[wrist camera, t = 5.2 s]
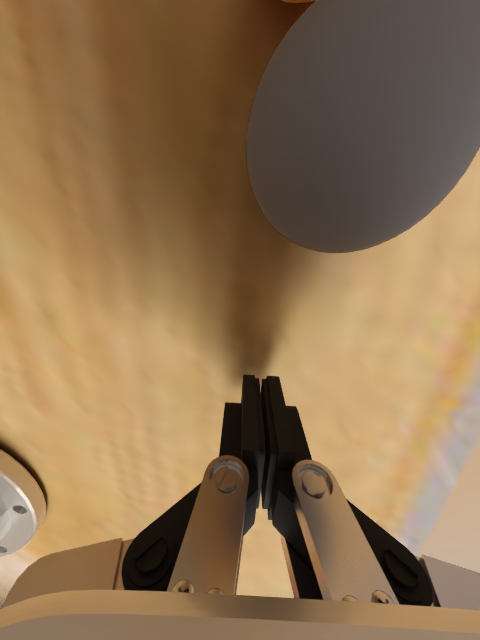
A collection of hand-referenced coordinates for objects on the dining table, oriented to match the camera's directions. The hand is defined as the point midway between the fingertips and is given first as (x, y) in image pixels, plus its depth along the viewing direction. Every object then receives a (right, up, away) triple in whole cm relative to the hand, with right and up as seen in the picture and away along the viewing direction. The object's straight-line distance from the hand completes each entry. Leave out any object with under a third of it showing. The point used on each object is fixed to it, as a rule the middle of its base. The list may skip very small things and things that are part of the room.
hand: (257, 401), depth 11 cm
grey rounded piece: (+2, +9, -5) cm, 10 cm away
